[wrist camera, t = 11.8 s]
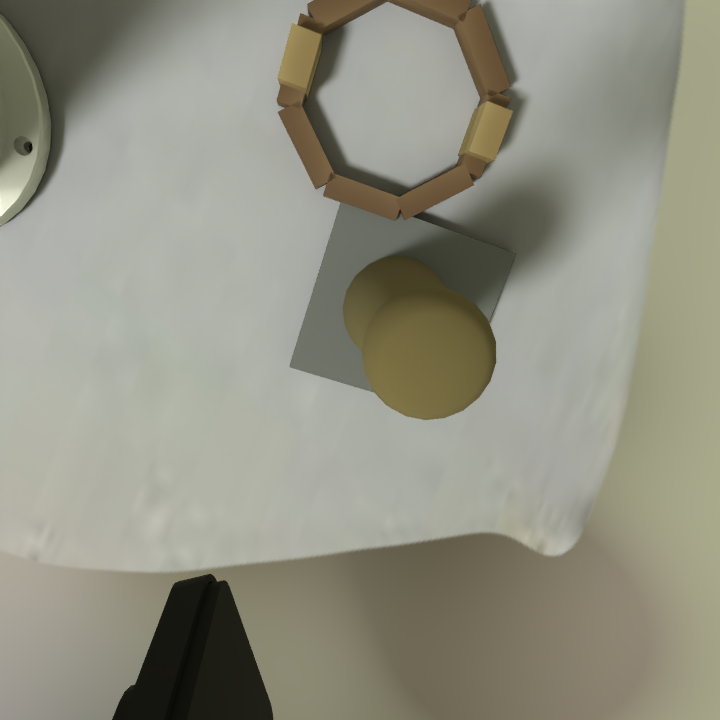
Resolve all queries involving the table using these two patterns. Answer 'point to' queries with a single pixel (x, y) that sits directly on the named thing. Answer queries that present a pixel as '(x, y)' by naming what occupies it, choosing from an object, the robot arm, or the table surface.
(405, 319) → the cork
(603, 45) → the table surface
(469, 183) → the collar
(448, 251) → the pad
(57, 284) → the table surface
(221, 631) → the robot arm
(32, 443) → the table surface
